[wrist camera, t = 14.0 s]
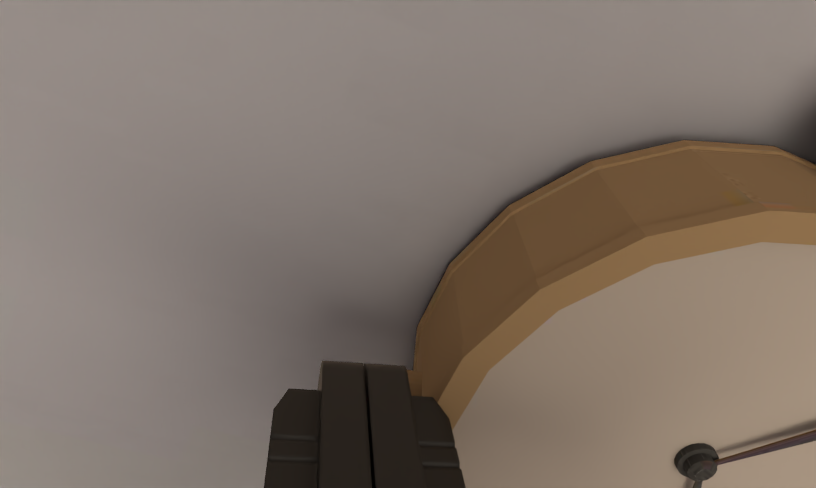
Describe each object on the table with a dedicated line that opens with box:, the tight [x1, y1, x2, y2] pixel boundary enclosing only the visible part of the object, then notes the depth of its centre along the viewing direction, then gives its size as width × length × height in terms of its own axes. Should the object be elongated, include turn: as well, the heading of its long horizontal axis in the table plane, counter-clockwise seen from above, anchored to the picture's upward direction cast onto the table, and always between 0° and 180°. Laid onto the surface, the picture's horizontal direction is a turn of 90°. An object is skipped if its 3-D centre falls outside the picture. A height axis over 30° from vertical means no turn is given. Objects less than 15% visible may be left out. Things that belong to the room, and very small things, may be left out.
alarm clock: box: [407, 140, 816, 488], centre depth 13 cm, size 11×5×15 cm
